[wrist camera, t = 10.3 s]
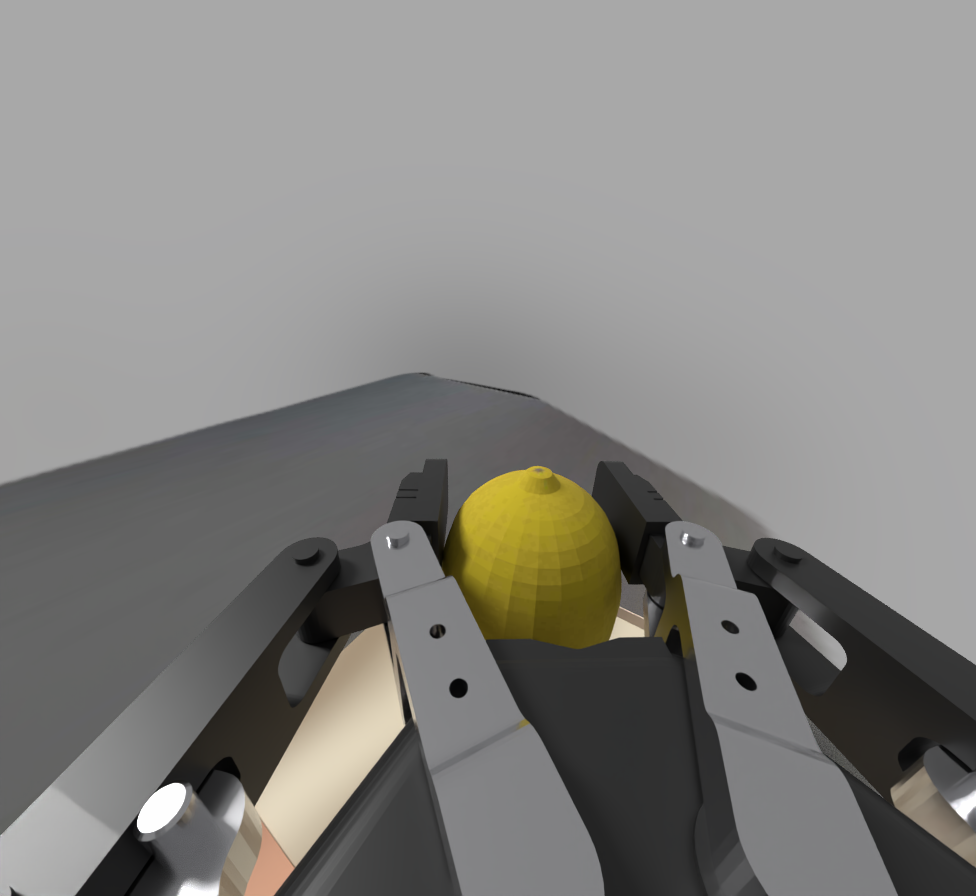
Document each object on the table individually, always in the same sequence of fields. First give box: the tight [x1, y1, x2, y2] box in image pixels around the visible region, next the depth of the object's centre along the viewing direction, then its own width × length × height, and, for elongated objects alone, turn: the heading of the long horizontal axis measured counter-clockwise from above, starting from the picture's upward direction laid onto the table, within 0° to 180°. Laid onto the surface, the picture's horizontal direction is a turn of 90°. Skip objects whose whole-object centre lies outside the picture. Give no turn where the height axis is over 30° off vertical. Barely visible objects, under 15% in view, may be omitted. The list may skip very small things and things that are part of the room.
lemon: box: [442, 466, 621, 649], centre depth 11 cm, size 6×6×8 cm
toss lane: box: [244, 607, 644, 896], centre depth 13 cm, size 14×18×1 cm
